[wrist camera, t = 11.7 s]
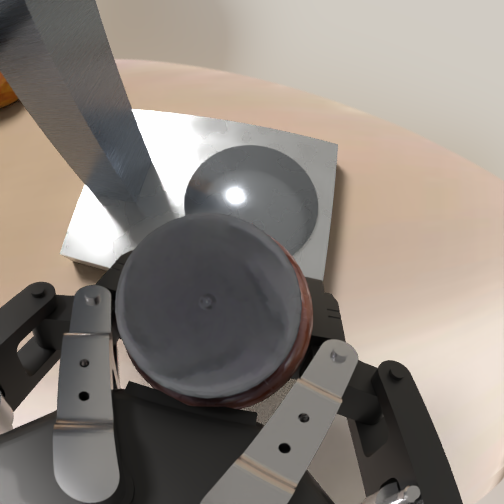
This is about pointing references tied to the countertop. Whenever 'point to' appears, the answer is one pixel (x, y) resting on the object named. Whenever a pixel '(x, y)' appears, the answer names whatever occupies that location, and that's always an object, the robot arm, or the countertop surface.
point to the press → (155, 147)
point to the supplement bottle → (213, 311)
